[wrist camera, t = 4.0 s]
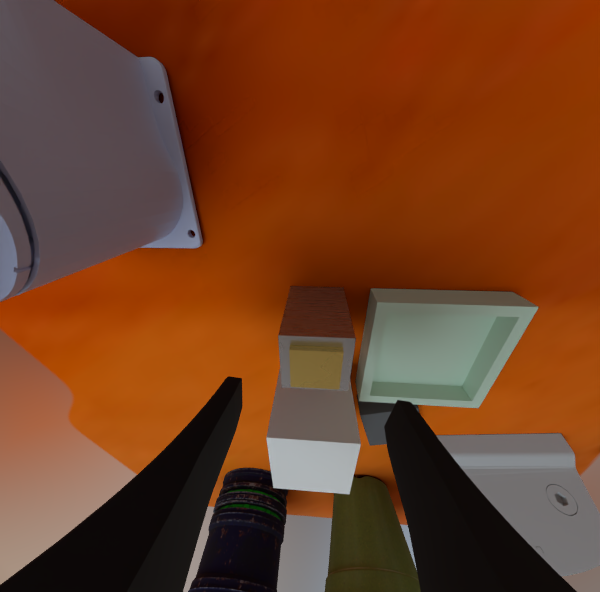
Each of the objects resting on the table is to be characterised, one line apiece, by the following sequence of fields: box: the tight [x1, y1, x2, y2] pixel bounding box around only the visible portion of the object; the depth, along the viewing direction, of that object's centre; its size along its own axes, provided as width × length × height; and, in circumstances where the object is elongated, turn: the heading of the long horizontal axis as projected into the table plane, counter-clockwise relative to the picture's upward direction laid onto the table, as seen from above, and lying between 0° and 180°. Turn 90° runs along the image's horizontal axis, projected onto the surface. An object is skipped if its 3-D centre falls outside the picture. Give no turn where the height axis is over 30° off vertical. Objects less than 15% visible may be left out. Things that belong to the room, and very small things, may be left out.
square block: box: [357, 394, 419, 445], centre depth 22 cm, size 5×5×2 cm
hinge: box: [436, 433, 600, 576], centre depth 22 cm, size 17×5×10 cm, turn 99°
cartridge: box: [278, 286, 356, 391], centre depth 15 cm, size 4×4×6 cm
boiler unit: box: [267, 368, 361, 494], centre depth 19 cm, size 8×6×7 cm
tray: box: [355, 288, 539, 408], centre depth 17 cm, size 10×10×2 cm
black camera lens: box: [188, 468, 288, 592], centre depth 26 cm, size 10×10×15 cm
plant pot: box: [325, 476, 421, 592], centre depth 26 cm, size 12×12×11 cm
